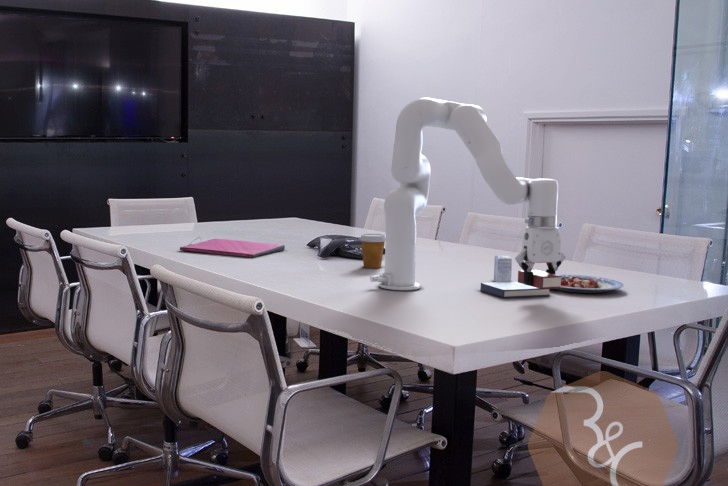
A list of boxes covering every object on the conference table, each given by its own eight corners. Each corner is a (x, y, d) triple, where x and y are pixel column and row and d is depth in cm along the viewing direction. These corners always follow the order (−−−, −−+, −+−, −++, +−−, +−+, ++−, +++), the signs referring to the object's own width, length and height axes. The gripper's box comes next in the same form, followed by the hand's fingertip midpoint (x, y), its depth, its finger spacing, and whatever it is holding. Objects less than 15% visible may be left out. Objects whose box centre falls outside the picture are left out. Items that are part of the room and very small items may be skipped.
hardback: (503, 298, 227) (503, 290, 226) (480, 290, 238) (480, 282, 238) (549, 295, 230) (550, 287, 230) (525, 288, 242) (525, 280, 242)
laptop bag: (285, 241, 327) (252, 249, 305) (285, 250, 328) (252, 259, 305) (208, 234, 349) (172, 241, 326) (208, 243, 349) (172, 251, 327)
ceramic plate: (516, 283, 250) (517, 274, 250) (576, 279, 260) (577, 270, 259) (579, 298, 227) (580, 288, 226) (642, 292, 236) (643, 283, 236)
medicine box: (511, 285, 248) (512, 258, 247) (496, 284, 249) (498, 258, 248) (507, 281, 256) (508, 255, 255) (493, 280, 257) (494, 254, 256)
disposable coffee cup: (389, 266, 286) (390, 234, 284) (379, 269, 278) (380, 237, 276) (365, 264, 291) (365, 232, 289) (355, 267, 283) (355, 235, 281)
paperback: (541, 289, 214) (542, 276, 213) (517, 282, 224) (518, 270, 224) (561, 288, 215) (562, 275, 215) (536, 281, 226) (537, 269, 225)
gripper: (523, 224, 212) (520, 288, 214) (577, 222, 216) (573, 285, 218) (507, 221, 219) (504, 283, 221) (559, 220, 223) (556, 281, 225)
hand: (539, 283), depth 220 cm, fingers closed on paperback, 6 cm apart
